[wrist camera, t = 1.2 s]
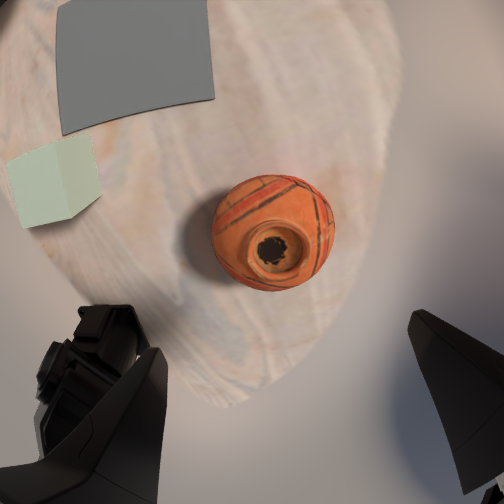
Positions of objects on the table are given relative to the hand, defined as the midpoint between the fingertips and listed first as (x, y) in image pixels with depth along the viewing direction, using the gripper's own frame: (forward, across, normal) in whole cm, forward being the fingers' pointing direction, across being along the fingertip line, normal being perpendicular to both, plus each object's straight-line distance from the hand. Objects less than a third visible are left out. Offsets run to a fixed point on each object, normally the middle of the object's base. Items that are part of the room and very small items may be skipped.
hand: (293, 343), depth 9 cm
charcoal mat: (+13, +8, -14) cm, 21 cm away
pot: (+13, 0, +1) cm, 13 cm away
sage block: (+13, +14, -6) cm, 20 cm away
